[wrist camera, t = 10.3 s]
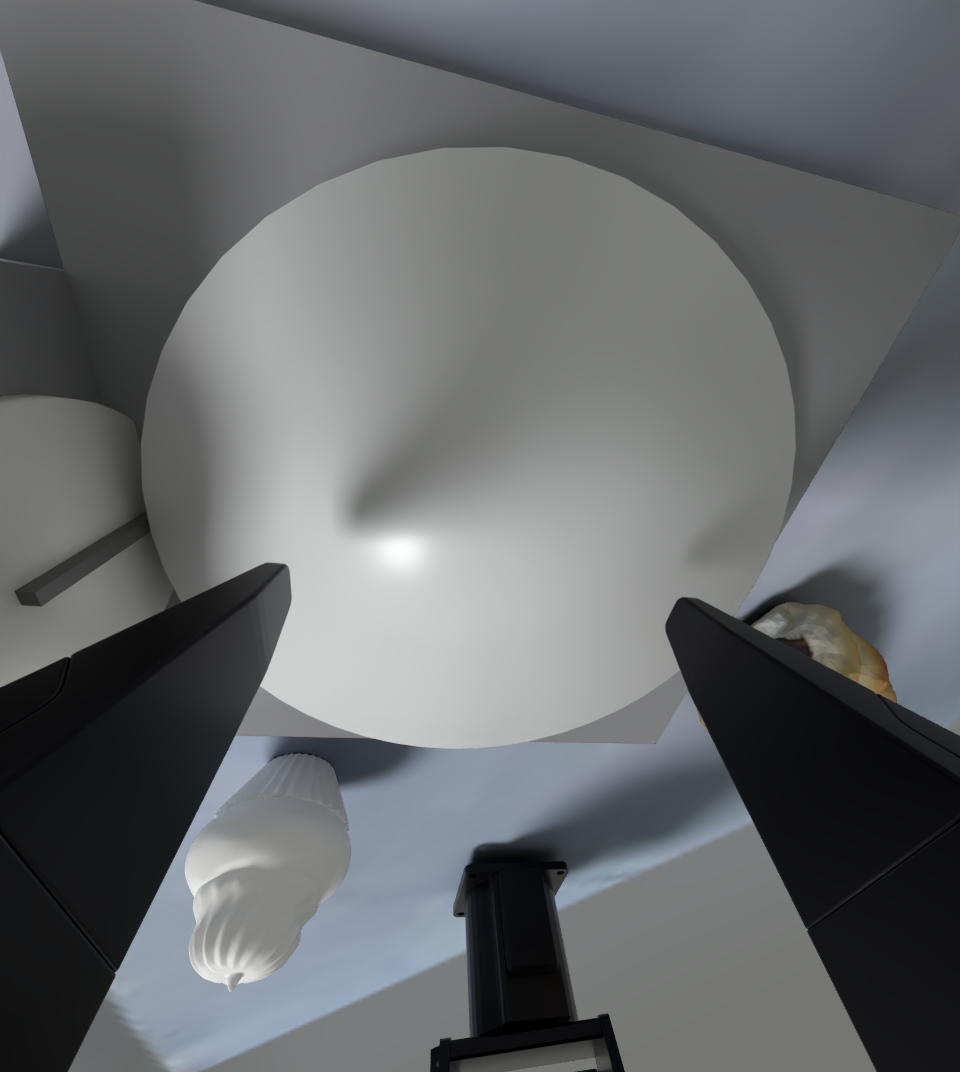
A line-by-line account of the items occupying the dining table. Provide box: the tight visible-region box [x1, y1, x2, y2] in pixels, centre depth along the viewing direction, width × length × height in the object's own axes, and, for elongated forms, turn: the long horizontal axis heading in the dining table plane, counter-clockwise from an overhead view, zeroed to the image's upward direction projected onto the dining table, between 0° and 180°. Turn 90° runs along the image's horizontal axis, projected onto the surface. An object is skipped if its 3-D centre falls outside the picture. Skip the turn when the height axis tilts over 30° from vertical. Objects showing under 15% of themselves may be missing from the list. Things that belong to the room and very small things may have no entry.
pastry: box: [697, 602, 897, 727], centre depth 16 cm, size 9×7×4 cm
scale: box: [0, 0, 960, 749], centre depth 9 cm, size 18×21×7 cm
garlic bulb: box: [185, 753, 351, 991], centre depth 15 cm, size 6×6×7 cm
